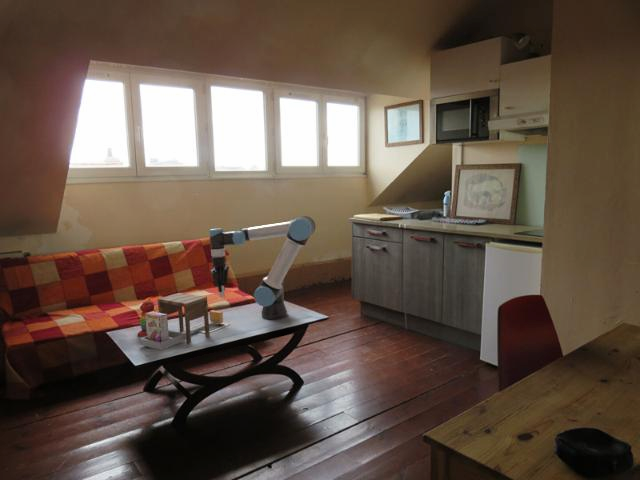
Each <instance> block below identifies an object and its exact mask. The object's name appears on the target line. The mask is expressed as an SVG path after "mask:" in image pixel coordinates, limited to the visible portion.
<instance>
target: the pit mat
mask: <svg viewBox="0 0 640 480" xmlns="http://www.w3.org/2000/svg"><path fill="white" fill-rule="evenodd" d="M209 322H210V319H209ZM202 324H205V323H204V322H202V323H198V324H196V325H194V326H190V329H192V328H194V327H197V326H200V325H202ZM230 325H231V324H230V323H226V322H223V323H215V324H213V325H210V326H209V334H211V333H214V332H217V331H219V330H221V329H223V328H225V327H229V326H230ZM195 333H201V334H205V328H203V329H200V330H197V331H195Z"/></svg>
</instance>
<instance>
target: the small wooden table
mask: <svg viewBox="0 0 640 480" xmlns="http://www.w3.org/2000/svg"><path fill="white" fill-rule="evenodd" d="M208 305H209V304H208V296H203V295H196V294H189V293H182V292H178V293H173V294H171V295H167V296H163V297H160V298H157V307H158V313H163V314H167V316H168V315H169V316H170V315H171V314H175V313H177V314H178V325H179V331H180V332H183V331H186V340H185V341H186V344H187V345H188V344H189V345H190V344H192V339H191V338H192V336H191V334H192V333H190V327H191V323H190V322H191V321H193V320H194V321H195V320H196V319H200V318H202V317H204V318H203V320H204V321H203V323H205V333H204V334H205V335H204V336H205V337H208V336H210V334H211V333H209V320H210V318H209V308H208V307H209V306H208ZM183 309H184V312H183ZM183 313H184V315H183ZM184 320H185V321H184ZM184 322H185V323H184ZM184 324H185V326H184ZM184 327H185V328H184Z"/></svg>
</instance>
